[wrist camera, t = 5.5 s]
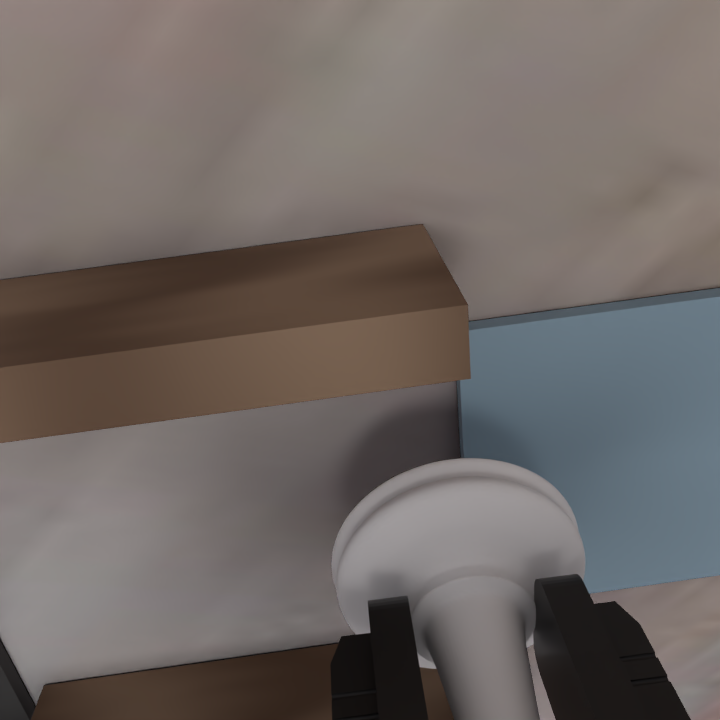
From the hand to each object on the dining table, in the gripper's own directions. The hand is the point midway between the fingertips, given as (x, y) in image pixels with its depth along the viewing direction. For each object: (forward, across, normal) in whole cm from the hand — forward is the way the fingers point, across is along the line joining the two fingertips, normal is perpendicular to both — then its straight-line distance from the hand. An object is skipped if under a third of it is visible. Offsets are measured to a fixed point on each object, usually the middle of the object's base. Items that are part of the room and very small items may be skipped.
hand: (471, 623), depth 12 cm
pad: (+4, -5, 0) cm, 6 cm away
